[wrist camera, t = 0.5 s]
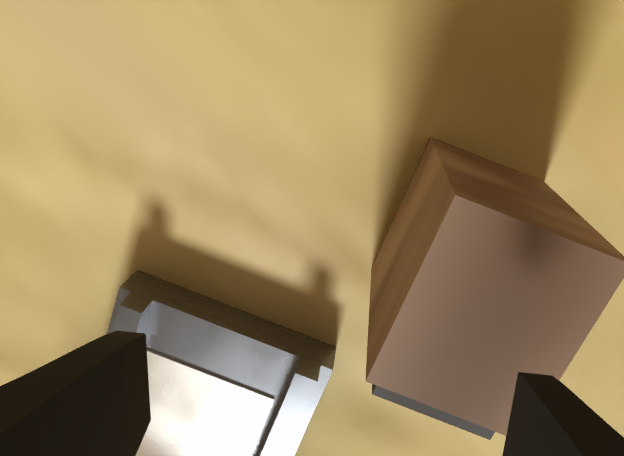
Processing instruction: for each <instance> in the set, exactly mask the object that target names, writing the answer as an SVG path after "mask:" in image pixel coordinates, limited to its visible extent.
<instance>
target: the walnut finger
mask: <svg viewBox="0 0 624 456" xmlns="http://www.w3.org/2000/svg"><path fill="white" fill-rule="evenodd" d="M623 278H624V256H623V255H622V254H621V253H620V252H619V251H618V250H617V249H615V248H614V247H613V246H612V245H611V244H610V243H609V242H608V241H607V240H606V239H605V238H604V237H603V236H602V235H600V234H599V233H598V232H597V231H596V230H595V229H594V228H593V227H592V226H591V225H590V224H589V223H588V222H587V221H586V220H584V219H583V218H582V217H581V216H580V215H579V214H578V213H577V212H576V211H575V210H574V209H573V208H572V207H571V206H569V205H568V204H567V203H566V202H565V201H564V200H563V199H562V198H561V197H560V196H559V195H558V194H557V193H556V192H554V191H553V190H552V189H551V188H550V187H549V186H548V185H547V184H546V183H545V182H543V181H541V180H538V179H535V178H533V177H530V176H528V175H525V174H523V173H520V172H518V171H515V170H512V169H510V168H507V167H505V166H502V165H500V164H497V163H495V162H492V161H490V160H487V159H484V158H482V157H479V156H477V155H474V154H472V153H469V152H467V151H464V150H461V149H459V148H456V147H454V146H451V145H449V144H446V143H444V142H441V141H439V140H436V139H433V138H431V137H430V138H429V141H428V143H427V145H426V147H425V150H424V152H423V154H422V156H421V159H420V161H419V163H418V165H417V167H416V170H415V172H414V174H413V176H412V179H411V181H410V183H409V185H408V188H407V190H406V192H405V194H404V197H403V199H402V201H401V203H400V206H399V208H398V210H397V212H396V214H395V217H394V219H393V221H392V223H391V226H390V228H389V230H388V232H387V235H386V237H385V239H384V241H383V244H382V246H381V248H380V250H379V252H378V255H377V257H376V259H375V261H374V264H373V266H372V270H371V289H370V308H369V327H368V346H367V365H366V382H369V383H372V394H373V395H376V396H378V397H381V398H383V399H386V400H388V401H391V402H394V403H396V404H399V405H401V406H404V407H406V408H409V409H412V410H414V411H417V412H419V413H422V414H425V415H427V416H430V417H432V418H435V419H437V420H440V421H443V422H445V423H448V424H450V425H453V426H455V427H458V428H461V429H463V430H466V431H468V432H471V433H473V434H476V435H479V436H481V437H484V438H486V439H489V440H490V439H491V438H492V436H493V434H494V433H495V432H498V433H500V434H503V435H505V436H506V435H507V429H508V424H509V419H510V413H511V408H512V402H513V397H514V392H515V386H516V381H517V375H518V372H524V373H534V374H544V375H552V376H554V377H555V378H556V379H557V380H560V378H561V376H562V375H563V373H564V372H565V370H566V368H567V367H568V365H569V364H570V362H571V361H572V359H573V357H574V356H575V354H576V353H577V351H578V349H579V348H580V346H581V345H582V343H583V342H584V340H585V338H586V337H587V335H588V334H589V332H590V330H591V329H592V327H593V326H594V324H595V323H596V321H597V319H598V318H599V316H600V315H601V313H602V311H603V310H604V308H605V307H606V305H607V304H608V302H609V300H610V299H611V297H612V296H613V294H614V292H615V291H616V289H617V288H618V286H619V285H620V283H621V281H622V280H623Z"/></svg>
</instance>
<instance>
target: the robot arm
mask: <svg viewBox="0 0 624 456" xmlns="http://www.w3.org/2000/svg"><path fill="white" fill-rule="evenodd" d="M150 421H151V412H150V396H149V379H148V363H147V346H146V333H136V332H126V331H114V332H112V333H109V334H107V335H104V336H102V337H100V338H98V339H96V340H94V341H91V342H89V343H87V344H85V345H83V346H81V347H79V348H77V349H75V350H73V351H71V352H69V353H67V354H66V355H64V356H62V357H60V358H58V359H56V360H54V361H52V362H50V363H48V364H46V365H44V366H42V367H40V368H38V369H36V370H34V371H32V372H30V373H28V374H26V375H24V376H21V377H19V378H17V379H15V380H13V381H11V382H8V383H6V384H4V385H2V386H0V456H136V453H137V451H138V449H139V447H140V445H141V442H142V440H143V438H144V435H145V433H146V430H147V428H148V426H149V423H150ZM503 456H624V438H623V437H622V436H621V435H620V434H619V433H618V432H617V431H615V430H614V429H613V428H612V427H611V426H610V425H609V424H607V423H606V422H605V421H604V420H603V419H602V418H601V417H600V416H598V415H597V414H596V413H595V412H594V411H593V410H592V409H591V408H589V407H588V406H587V405H586V404H585V403H584V402H583V401H582V400H581V399H579V398H578V397H577V396H576V395H575V394H574V393H573V392H572V391H570V390H569V389H568V388H567V387H566V386H565V385H564V384H562V383H561V382H560V381H559V380H557V379H556V378H555V377H554V376H552V375H544V374H534V373H524V372H518V375H517V381H516V386H515V392H514V397H513V402H512V408H511V413H510V419H509V424H508V429H507V435H506V440H505V446H504V451H503Z"/></svg>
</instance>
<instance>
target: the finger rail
mask: <svg viewBox="0 0 624 456" xmlns="http://www.w3.org/2000/svg"><path fill="white" fill-rule="evenodd" d="M114 331H126V332H136V333H146V346H147V363H148V379H149V396H150V412H151V421H150V423H149V426H148V428H147V430H146V433H145V435H144V438H143V440H142V442H141V445H140V447H139V449H138V451H137V453H136V456H294V455H295V452H296V450H297V448H298V446H299V444H300V441H301V439H302V437H303V435H304V433H305V430H306V428H307V426H308V424H309V421H310V419H311V417H312V415H313V413H314V410H315V408H316V406H317V404H318V402H319V399H320V397H321V395H322V393H323V391H324V388H325V386H326V384H327V382H328V379H329V377H330V375H331V373H332V371H333V365H334V359H335V352H336V347H333V346H330V345H328V344H325V343H323V342H320V341H318V340H315V339H312V338H310V337H307V336H305V335H302V334H300V333H297V332H294V331H292V330H289V329H287V328H284V327H282V326H279V325H276V324H274V323H271V322H269V321H266V320H264V319H261V318H258V317H256V316H253V315H251V314H248V313H246V312H243V311H240V310H238V309H235V308H233V307H230V306H228V305H225V304H222V303H220V302H217V301H215V300H212V299H210V298H207V297H204V296H202V295H199V294H197V293H194V292H192V291H189V290H186V289H184V288H181V287H179V286H176V285H174V284H171V283H168V282H166V281H163V280H161V279H158V278H155V277H153V276H150V275H148V274H145V273H143V272H140V271H136V272H135V273H134V274H133V275H132V276H131V277H130V278H129V279H128V280H127V281H126V282H125V283H123V284H122V285H121V286H120V288H119V291H118V295H117V299H116V303H115V306H114V310H113V314H112V317H111V321H110V325H109V328H108V332H107V334H109V333H112V332H114Z"/></svg>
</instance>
